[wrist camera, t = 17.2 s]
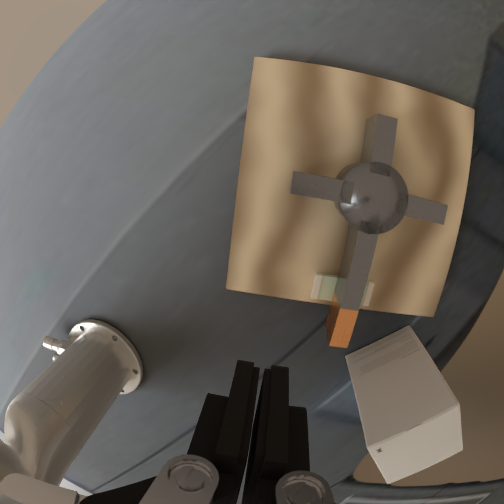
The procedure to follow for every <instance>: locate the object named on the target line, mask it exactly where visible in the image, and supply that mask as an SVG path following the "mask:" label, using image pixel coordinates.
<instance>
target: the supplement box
mask: <svg viewBox="0 0 504 504" xmlns="http://www.w3.org/2000/svg"><path fill="white" fill-rule="evenodd" d="M345 357H346V361H347V365H348V369H349V373H350V377H351V381H352V385H353V389H354V393H355V397H356V401H357V405H358V409H359V413H360V418H361V422H362V427H363V431H364V436H365V441H366V446H367V449H368V451H369V452H370V454H371V456H372V458H373V459H374V461H375V463H376V465H377V466H378V468H379V470H380V471H381V473H382V475H383V477H384V478H385V480H386V482H387V484H390V483H392V482H395V481H397V480H400V479H402V478H404V477H407V476H409V475H412V474H414V473H416V472H419V471H421V470H423V469H425V468H428V467H430V466H431V465H434V464H436V463H438V462H440V461H442V460H444V459H446V458H448V457H450V456H452V455H454V454H456V453H458V452H460V451H462V450H463V443H462V431H461V415H460V403H459V402H458V400H457V399H456V397H455V396H454V394H453V393H452V391H451V389H450V387H449V386H448V384H447V383H446V381H445V380H444V378H443V376H442V374H441V373H440V371H439V370H438V368H437V366H436V365H435V363H434V362H433V360H432V359H431V357H430V355H429V354H428V352H427V351H426V349H425V348H424V346H423V345H422V343H421V342H420V340H419V339H418V337H417V336H416V334H415V333H414V331H413V329H412V328H411V326H410V325H408V326H406V327H404V328H402V329H400V330H398V331H396V332H394V333H392V334H390V335H388V336H386V337H384V338H382V339H380V340H378V341H376V342H374V343H372V344H370V345H368V346H365V347H363V348H361V349H359V350H357V351H355V352H352V353H350V354H348V355H346V356H345Z"/></svg>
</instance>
